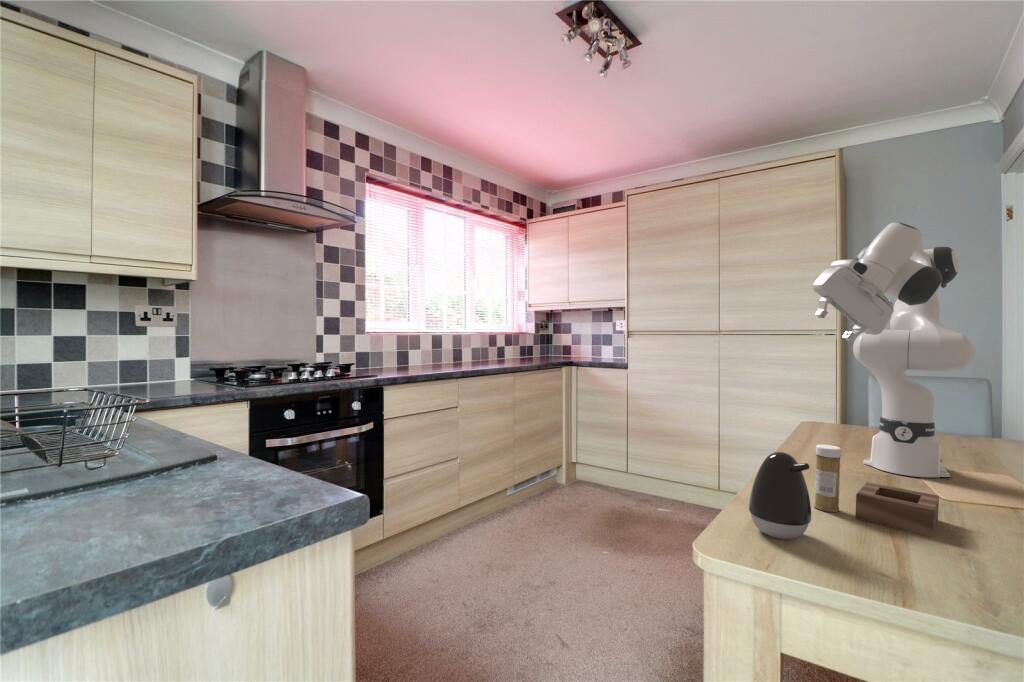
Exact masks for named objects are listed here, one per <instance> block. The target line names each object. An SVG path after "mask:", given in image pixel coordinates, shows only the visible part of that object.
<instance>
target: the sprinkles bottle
mask: <svg viewBox="0 0 1024 682" xmlns="http://www.w3.org/2000/svg"><path fill="white" fill-rule="evenodd" d="M815 456H816V462H815V463H816V464H815V478H814V479H815V481H814V493H815V495H814V504H813V505H814V507H815V508H816V509H817V510H819V511H822V512H828V513H837V512H839V511H840V507H839V505H840V504H839V503H840V492H841V491H840V487H841V486H840V482H841V481H840V479H841V477H840V473H841V471H840V470H841V468H840V467H841V457H842V448H841V447H839V446H835V445H831V444H817V445H816V446H815Z"/></svg>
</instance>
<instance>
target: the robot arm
mask: <svg viewBox="0 0 1024 682" xmlns="http://www.w3.org/2000/svg"><path fill="white" fill-rule="evenodd" d="M922 239H923V233H922V232H921V231H920V230H919V229H918V228H916V227H914V226H912V225H909V224H907V223H903V222H891V223H889V224H887V225H886V226H885V227H884V228H883V229H882V230H881V231H880V232H879V233H878V235H876V237H874V239H873V240H872V241H871V243H870V244H867V245H865V246H863V248H862V249H861V251H860V252H859V253H858V254H857V256H856V257H855V258H854V259H839V260H838V259H837V260H834V261H832V262H831V264H830V266H829V268H826V269H825V270H823V271H822V272H821V274H820V275H819V276H818V277H817V278H816V279H815V281H814V282H813V285H812V289H813V291H814V292H815V293H816V294H817V295H819V296H820V299H819V301H818V309H817V310H816V312H815V313H814V315H815V316H817V317H818V318H819V319H824V318H825V317H826V316H827V315H828V314H829V312H828V311H827V309H828V304H829V305H831V306H832V307H834V308H835V309H836V310H837V311H838V312H839V313H840V314H842V316H844V317H845V318H847V320H848V321H850V322H851V323H852V324H854V326H853V328H852V329H853V330H851V331H847V330H846V331H845V332H844V333H843V335H842V338H843V339H844V340H845V341H847V342H851V341H853V340H854V338H855V337H856V336H857V337H856V338H855V340H854V342H853V346H852V353H853V355H854V357H855V360H856V361H857V362H858V363H859V364H861V365H862V366H864V367H865V368H866V369H867V370H868V371H870V373H871V374H872V375H873V376H874V378H875V379H876V380H877V382H878V385H879V388H880V393H881V416H880V417H879V421H878V422H879V423H878V424H879V427H878V428H879V432H878V433H876V434H875V435H873V436H872V440H871V450H870V457H868V458H865V459H863V461H862V463H863V464H864V465H867V466H870V467H874V468H875V469H878V470H881V471H883V472H884V471H885V472H888V473H891V474H892V473H893V474H896V475H902V476H903V475H904V476H909V477H914V478H915V477H916V478H917V477H918V478H940V477H950V478H951V476H950V475H951V474H950V473H949V472H948V470H946V467H944V466H943V465H942V463H943V458H942V457H941V447H942V446H941V444H939V442H938V441H937V440H936V439H935V437H934V436H935V430H936V427H935V426H936V425H935V422H934V405H935V404H934V403H935V401H934V400H935V397H934V394H933V393H932V392H931V390H930V389H929V388H928V387H925V386H924V385H923V384H920V383H918V382H915V381H913V380H912V379H911V380H910V378H908V377H907V375H906V371H923V372H925V371H927V372H952V371H960V370H963V369H965V368H966V367H967V366H968V365H969V364H970V363H971V362H972V360H973V357H974V354H975V348H974V345H973V343H972V341H971V339H969V337H968V336H967V335H965V334H964V333H961V332H957V331H954V330H951V329H949V328H947V327H945V326H944V325H943V324H941V322H940V316H941V315H940V314H941V313H940V312H941V311H940V310H941V308H940V307H941V306H940V301H939V297H938V294H937V293H938V291H939V290H940V287H941V288H942V289H945V288H946V287H947V285H948V284H949V283H951V282H952V281H953V280H954V279H955V278H956V276H957V275H958V273H959V268H960V259H959V256H958V254H957V253H956V252H955V251H954V249H952V248H951V247H950V246H935V247H933V248H927V249H926V248H925V249H924V243H923V241H922ZM885 295H888V296H890V297H892V298H894V299H896V300H895V302H894V303H893V302H892V301H891V300H890V299H888V298H887V297H886V296H885ZM893 304H894V305H893ZM888 323H889V328H890V329H885V328H886V326H887V325H888Z"/></svg>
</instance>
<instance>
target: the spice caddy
mask: <svg viewBox="0 0 1024 682" xmlns="http://www.w3.org/2000/svg"><path fill="white" fill-rule="evenodd" d="M939 500H940V496H939V495H936V494H933V493H926V492H921V491H916V490H911V489H905V488H900V487H895V486H890V485H886V484H885V485H884V484H879V483H873V482H869V481H866V483H864V484H863V486H862V487H861V488H860V490H858V491H857V492H856V495H855V515H854V517H855V519H856V520H859V521H864V522H867V523H872V524H876V525H881V526H884V527H888V528H893V529H898V530H901V531H905V532H910V533H915V534H919V535H923V536H925V537H931V538H933V537H934V535H935V532H936V528H937V525H938V520H939V502H940V501H939Z"/></svg>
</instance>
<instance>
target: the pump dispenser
mask: <svg viewBox="0 0 1024 682" xmlns="http://www.w3.org/2000/svg"><path fill="white" fill-rule="evenodd" d="M809 469H810V465H809V463H807V462H806V463H805V462H804V463H798V462H797V460H796V459H795V458H794V457H793V455H791V454H789V453H787V452H783V451H777V452H776V451H775V452H772V453H770V454H768V455H767V456H766V458H765V459H763V461H762V463H761V464H760V467H759V468H758V471H757V473H756V475H755V478H754V481H753V484H752V487H751V491H750V495H749V496H750V497H749V500H748V501H749V502H748V511H749V513H750V515H751V516H750V517H751V519H752V522H753V523H754V525H755V527H756V528H757V529H758V530H759V531H760V532H762V533H763V534H765V535H767V536H769V537H772V538H775V539H779V540H794V539H797V538H800V537H801V536H802V535H803V534H804V533H805V532H806V531H807V530H808V527H809V524H810V523H811V522H812V506H811V499H810V498H811V497H810V493H809V489H808V484H807V482H806V479H805V477H804V473H803V471H807V470H809Z"/></svg>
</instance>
